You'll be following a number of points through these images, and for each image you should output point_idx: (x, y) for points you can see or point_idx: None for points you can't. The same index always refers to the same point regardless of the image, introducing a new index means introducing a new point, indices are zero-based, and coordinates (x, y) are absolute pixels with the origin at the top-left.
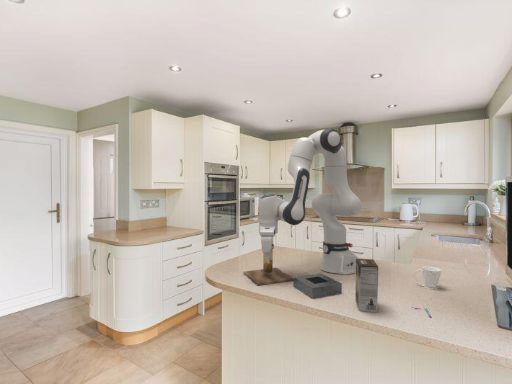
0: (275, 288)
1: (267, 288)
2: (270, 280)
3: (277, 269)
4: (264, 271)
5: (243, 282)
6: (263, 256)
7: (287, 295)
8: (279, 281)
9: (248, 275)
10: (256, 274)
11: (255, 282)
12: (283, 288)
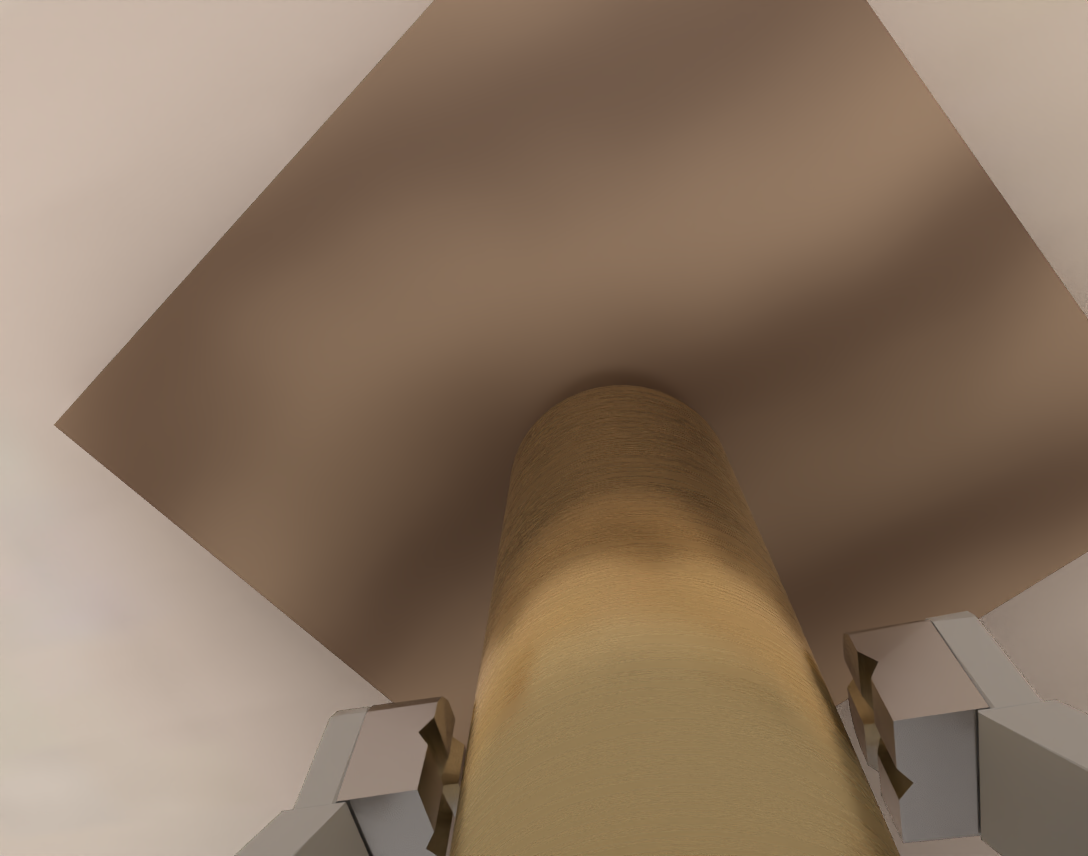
0: (144, 672)
1: (75, 574)
2: (324, 575)
3: (1046, 537)
4: (520, 446)
5: (86, 62)
6: (554, 627)
7: (11, 835)
8: (395, 688)
9: (408, 42)
10: (558, 209)
11: (131, 342)
12: (205, 760)
